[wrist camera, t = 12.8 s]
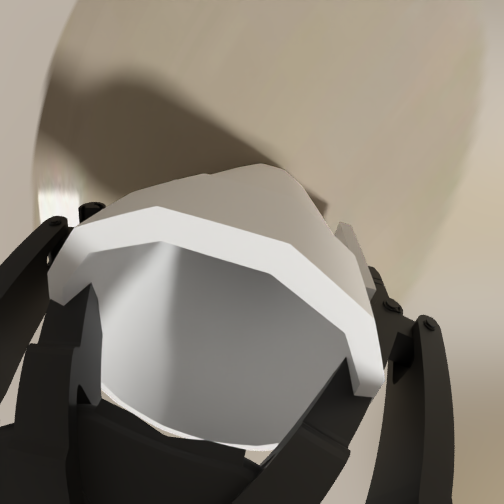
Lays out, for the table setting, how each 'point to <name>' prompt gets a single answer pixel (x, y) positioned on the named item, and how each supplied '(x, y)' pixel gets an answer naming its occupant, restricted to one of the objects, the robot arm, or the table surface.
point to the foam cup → (221, 304)
